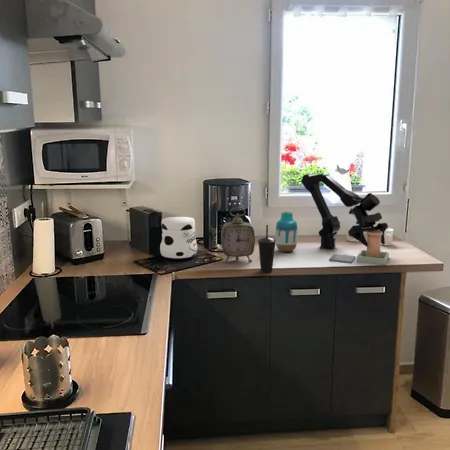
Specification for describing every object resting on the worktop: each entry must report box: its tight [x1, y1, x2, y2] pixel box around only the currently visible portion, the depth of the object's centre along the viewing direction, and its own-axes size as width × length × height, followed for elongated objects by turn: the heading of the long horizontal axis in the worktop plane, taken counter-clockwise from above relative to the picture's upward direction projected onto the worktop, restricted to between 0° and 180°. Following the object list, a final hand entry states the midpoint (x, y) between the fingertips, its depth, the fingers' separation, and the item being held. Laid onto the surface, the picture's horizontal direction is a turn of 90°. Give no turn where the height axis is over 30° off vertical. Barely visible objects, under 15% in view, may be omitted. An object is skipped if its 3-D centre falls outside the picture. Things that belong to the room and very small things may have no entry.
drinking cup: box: [257, 224, 276, 274], centre depth 213 cm, size 8×8×20 cm
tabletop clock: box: [220, 206, 256, 264], centre depth 228 cm, size 14×9×25 cm, turn 95°
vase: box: [274, 211, 299, 253], centre depth 246 cm, size 11×11×19 cm
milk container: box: [159, 216, 198, 261], centre depth 236 cm, size 17×17×18 cm
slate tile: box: [328, 253, 356, 264], centre depth 233 cm, size 10×10×1 cm
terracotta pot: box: [365, 230, 383, 258], centre depth 231 cm, size 7×7×13 cm
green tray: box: [356, 249, 390, 265], centre depth 232 cm, size 13×13×2 cm
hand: (375, 245), depth 230 cm, fingers open, 9 cm apart
